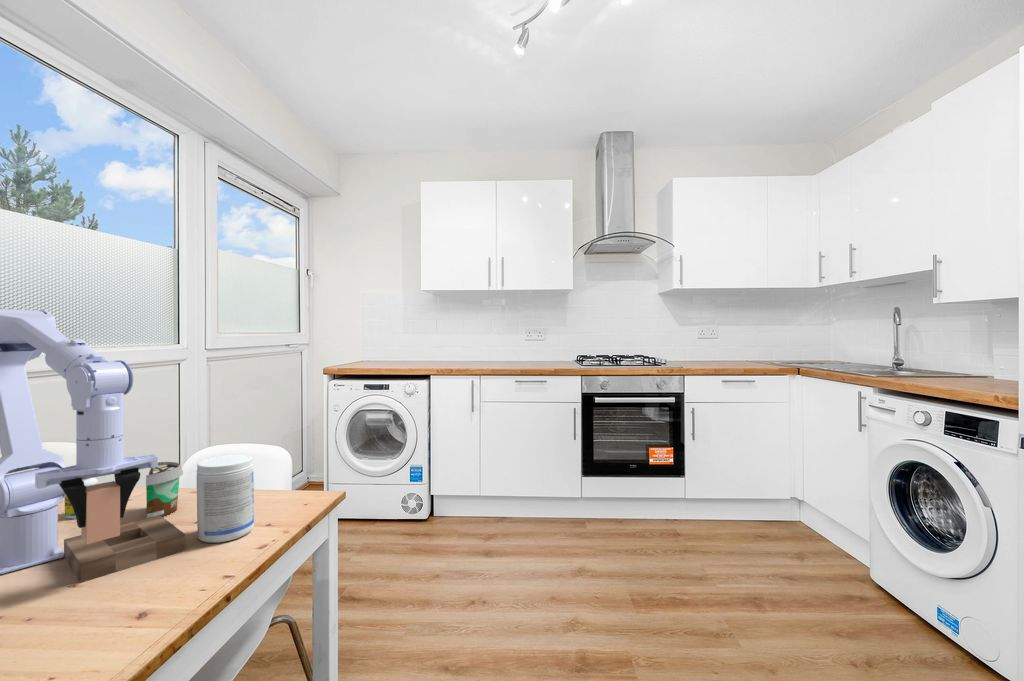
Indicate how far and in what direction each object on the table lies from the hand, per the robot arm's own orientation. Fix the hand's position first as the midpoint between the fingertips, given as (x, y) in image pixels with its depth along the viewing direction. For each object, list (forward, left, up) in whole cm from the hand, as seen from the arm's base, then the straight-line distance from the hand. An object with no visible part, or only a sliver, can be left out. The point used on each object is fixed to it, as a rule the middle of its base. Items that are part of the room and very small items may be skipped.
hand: (100, 521), depth 74 cm
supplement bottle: (-38, +4, -10) cm, 39 cm away
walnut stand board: (-8, +5, -9) cm, 13 cm away
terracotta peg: (0, 0, -2) cm, 2 cm away
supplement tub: (-3, +19, -10) cm, 22 cm away
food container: (-26, +16, -10) cm, 32 cm away
